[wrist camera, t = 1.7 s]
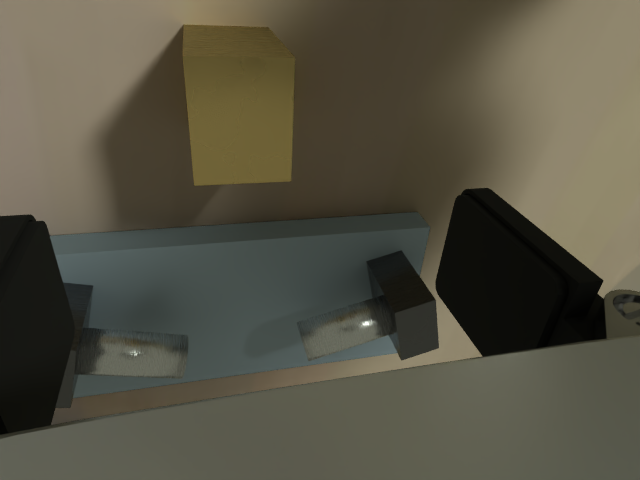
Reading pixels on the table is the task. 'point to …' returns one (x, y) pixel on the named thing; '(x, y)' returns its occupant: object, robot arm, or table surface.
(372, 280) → the shaft
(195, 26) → the olive yellow block
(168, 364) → the shaft
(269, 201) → the table surface
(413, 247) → the board
